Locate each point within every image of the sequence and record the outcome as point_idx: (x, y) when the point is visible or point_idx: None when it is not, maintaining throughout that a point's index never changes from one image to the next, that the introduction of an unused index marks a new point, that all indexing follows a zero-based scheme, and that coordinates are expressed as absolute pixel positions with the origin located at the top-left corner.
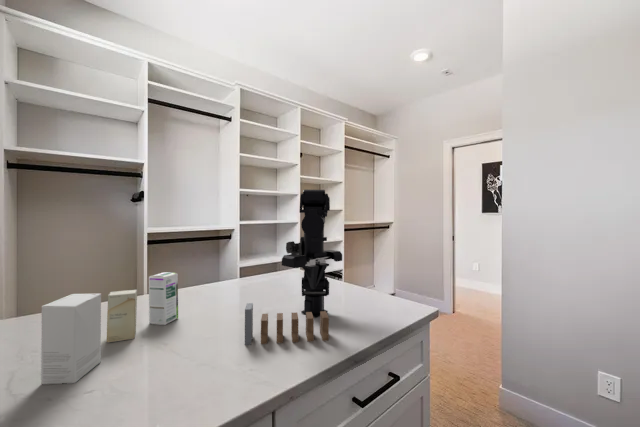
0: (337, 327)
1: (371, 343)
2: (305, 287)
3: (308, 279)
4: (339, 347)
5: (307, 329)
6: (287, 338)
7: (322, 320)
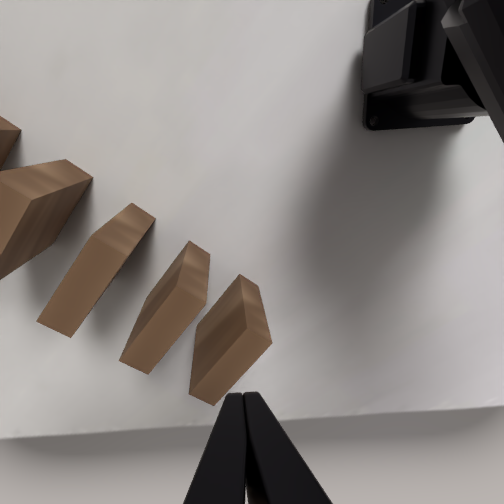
0: (330, 283)
1: (296, 418)
2: (452, 31)
3: (185, 501)
4: None
5: (136, 322)
6: (92, 224)
7: (195, 376)
